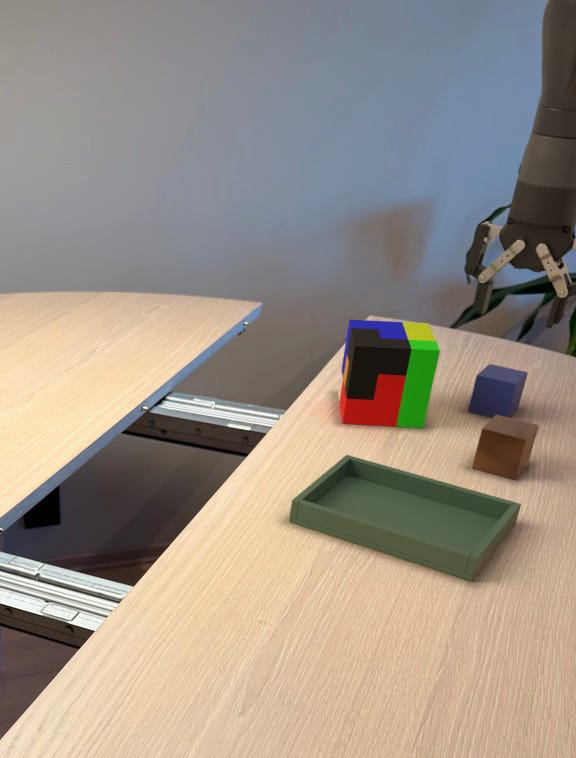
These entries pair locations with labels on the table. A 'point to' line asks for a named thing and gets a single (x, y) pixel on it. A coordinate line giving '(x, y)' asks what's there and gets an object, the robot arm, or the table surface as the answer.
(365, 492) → the tray
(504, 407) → the blue cube
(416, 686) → the table surface
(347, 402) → the puzzle toy
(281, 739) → the table surface
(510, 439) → the brown cube
